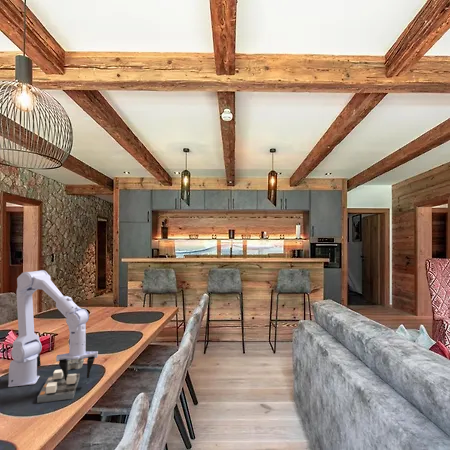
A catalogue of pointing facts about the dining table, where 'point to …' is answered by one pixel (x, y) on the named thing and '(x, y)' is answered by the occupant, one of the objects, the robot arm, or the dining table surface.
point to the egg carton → (75, 364)
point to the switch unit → (58, 390)
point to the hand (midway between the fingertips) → (77, 378)
